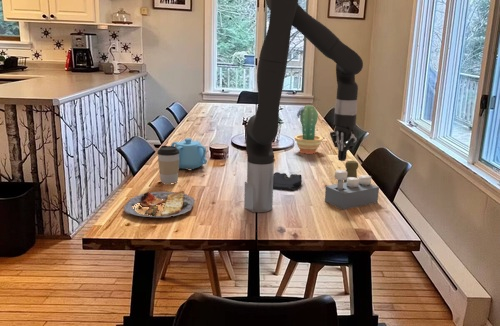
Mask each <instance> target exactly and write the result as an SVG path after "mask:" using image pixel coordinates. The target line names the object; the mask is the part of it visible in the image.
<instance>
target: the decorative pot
mask: <svg viewBox="0 0 500 326" xmlns="http://www.w3.org/2000/svg"><path fill="white" fill-rule="evenodd" d="M170 146H174V147H176V148H177V149H178V150H179V152H180V153H179V169H183V170H184V169H186V170H188V169H193V170H194V169H197V168H200V166H201V167H202V166H204V165H205V164H207V163H208V160H207V157H206V155H207V148H206V147H205V146H204V145H203V144H202V143H201V142H200V141H199V140H192V138H191V137H190V138H189V137H187V138H186V137H185V138H184V140H181V141H173V142H172V143H171V145H170Z"/></svg>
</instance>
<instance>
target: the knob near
mask: <svg viewBox="0 0 500 326" xmlns="http://www.w3.org/2000/svg"><path fill="white" fill-rule="evenodd" d="M334 179H335V180H337V183H336V184H337V190H339V191H342V190H343V182H344V180H346V179H347V171H346V170H344V169H343V170H342V169H337V170H335V171H334Z"/></svg>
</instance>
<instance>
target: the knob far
mask: <svg viewBox="0 0 500 326" xmlns="http://www.w3.org/2000/svg"><path fill="white" fill-rule="evenodd" d="M358 179H359V184H362V186H367V185H370V184H371V183H372V176H371V175H368V174H367V175H366V174H361V175H359V176H358Z"/></svg>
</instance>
